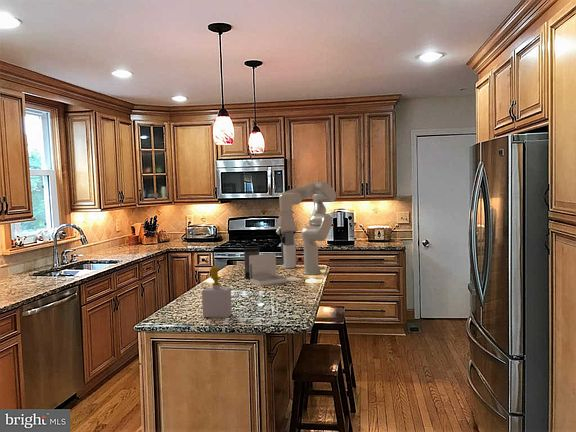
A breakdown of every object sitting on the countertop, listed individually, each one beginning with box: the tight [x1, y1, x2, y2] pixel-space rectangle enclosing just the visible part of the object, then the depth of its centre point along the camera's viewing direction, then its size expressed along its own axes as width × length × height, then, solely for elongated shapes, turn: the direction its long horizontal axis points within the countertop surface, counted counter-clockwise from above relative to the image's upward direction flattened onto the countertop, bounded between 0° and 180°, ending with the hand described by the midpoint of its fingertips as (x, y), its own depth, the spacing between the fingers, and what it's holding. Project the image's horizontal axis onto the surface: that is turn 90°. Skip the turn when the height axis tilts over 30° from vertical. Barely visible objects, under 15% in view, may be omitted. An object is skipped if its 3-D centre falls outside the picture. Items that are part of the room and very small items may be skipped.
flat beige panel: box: [286, 276, 304, 283], centre depth 309 cm, size 10×12×1 cm
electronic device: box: [243, 247, 260, 280], centre depth 316 cm, size 9×6×20 cm, turn 84°
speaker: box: [280, 233, 297, 269], centre depth 356 cm, size 11×10×26 cm
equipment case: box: [249, 252, 288, 287], centre depth 301 cm, size 18×14×17 cm
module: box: [280, 232, 294, 246], centre depth 306 cm, size 5×7×8 cm
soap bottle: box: [201, 265, 233, 319], centre depth 227 cm, size 12×7×23 cm, turn 80°
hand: (287, 242), depth 307 cm, fingers closed on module, 5 cm apart
